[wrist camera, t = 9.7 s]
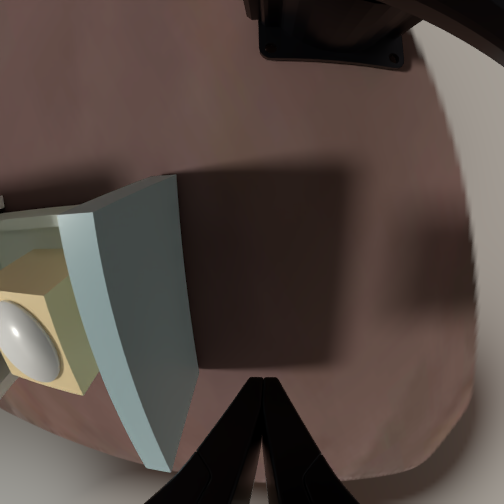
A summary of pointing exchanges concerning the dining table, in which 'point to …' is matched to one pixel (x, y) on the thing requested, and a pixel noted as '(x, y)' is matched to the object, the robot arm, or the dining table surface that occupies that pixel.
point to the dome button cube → (44, 323)
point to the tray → (126, 301)
